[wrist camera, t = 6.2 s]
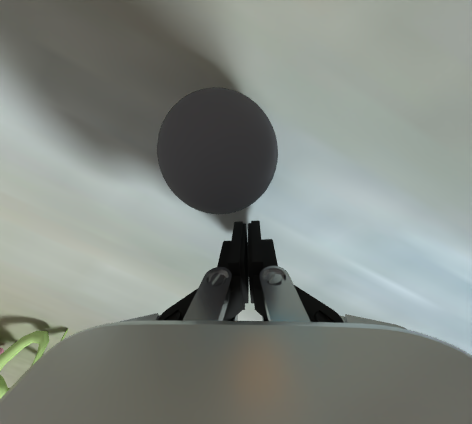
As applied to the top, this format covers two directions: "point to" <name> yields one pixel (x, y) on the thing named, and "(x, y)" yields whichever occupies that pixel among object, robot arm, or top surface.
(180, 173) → the dark gray ball
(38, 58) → the top surface
